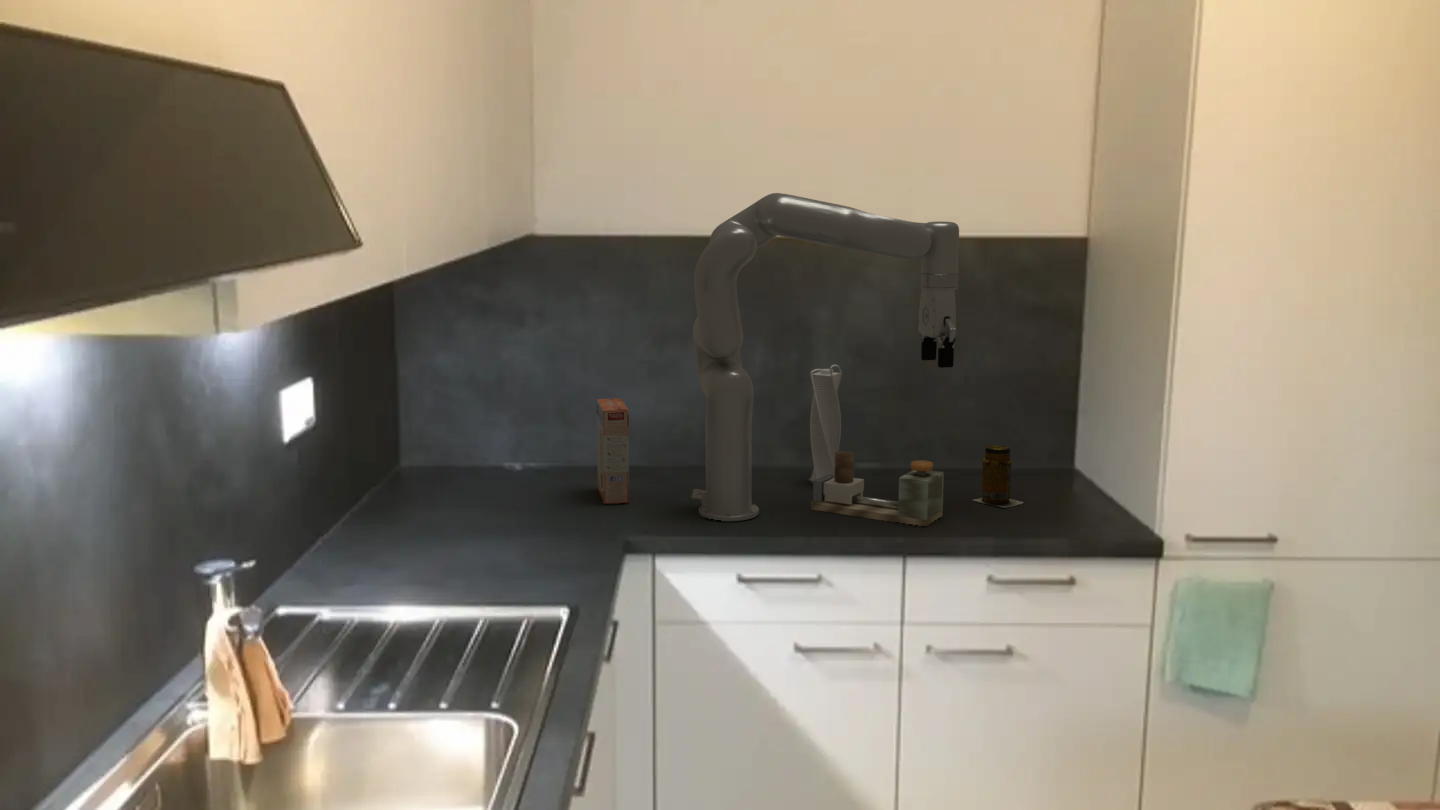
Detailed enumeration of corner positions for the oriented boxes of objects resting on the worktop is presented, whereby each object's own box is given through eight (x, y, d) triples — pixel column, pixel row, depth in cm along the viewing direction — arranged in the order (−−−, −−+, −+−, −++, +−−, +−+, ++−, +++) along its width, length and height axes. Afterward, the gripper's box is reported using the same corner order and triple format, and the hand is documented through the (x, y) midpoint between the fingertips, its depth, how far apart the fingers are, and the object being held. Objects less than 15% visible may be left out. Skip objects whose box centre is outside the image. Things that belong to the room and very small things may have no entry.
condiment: (993, 495, 280) (995, 442, 278) (1024, 503, 274) (1027, 449, 272) (971, 501, 276) (973, 447, 274) (1003, 509, 270) (1005, 454, 267)
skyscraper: (849, 487, 288) (851, 364, 283) (815, 489, 286) (816, 366, 281) (836, 478, 296) (838, 359, 291) (803, 480, 294) (804, 360, 289)
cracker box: (631, 504, 274) (629, 408, 270) (603, 505, 273) (601, 409, 269) (623, 488, 288) (622, 397, 284) (597, 489, 287) (595, 398, 283)
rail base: (810, 509, 270) (811, 465, 268) (829, 499, 277) (830, 457, 275) (925, 527, 256) (926, 481, 255) (942, 516, 264) (943, 472, 262)
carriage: (823, 501, 269) (824, 455, 267) (838, 493, 275) (839, 448, 273) (849, 505, 266) (849, 458, 264) (863, 497, 272) (864, 451, 270)
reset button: (907, 479, 259) (907, 463, 259) (915, 474, 263) (916, 459, 262) (927, 481, 257) (927, 466, 256) (935, 477, 261) (936, 462, 260)
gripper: (907, 278, 271) (905, 358, 275) (937, 286, 255) (934, 370, 258) (941, 277, 273) (938, 356, 276) (972, 285, 256) (969, 369, 259)
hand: (936, 363), depth 267 cm, fingers open, 9 cm apart
